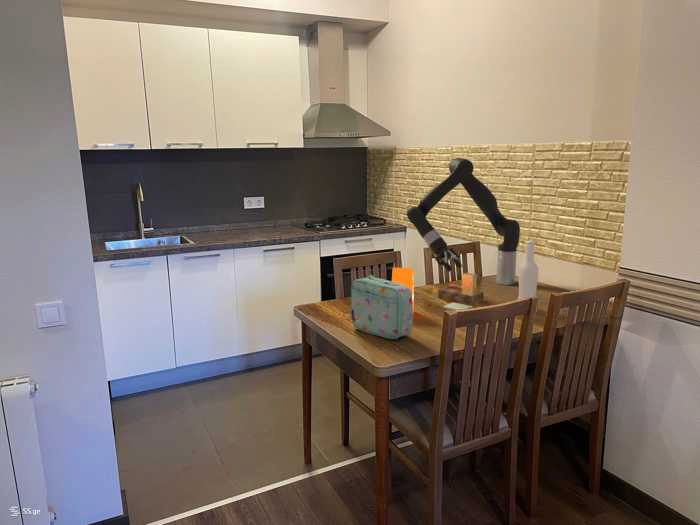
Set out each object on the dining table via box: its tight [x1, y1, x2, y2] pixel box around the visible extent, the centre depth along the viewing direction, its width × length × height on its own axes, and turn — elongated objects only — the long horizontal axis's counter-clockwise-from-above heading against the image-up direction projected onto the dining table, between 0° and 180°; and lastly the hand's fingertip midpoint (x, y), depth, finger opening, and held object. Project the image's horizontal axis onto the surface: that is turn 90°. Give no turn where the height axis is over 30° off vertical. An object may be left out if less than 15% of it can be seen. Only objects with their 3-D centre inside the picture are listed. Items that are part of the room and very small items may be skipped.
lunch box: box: [349, 275, 414, 340], centre depth 189 cm, size 27×10×21 cm, turn 45°
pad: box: [442, 301, 474, 311], centre depth 220 cm, size 10×8×1 cm
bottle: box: [517, 240, 539, 300], centre depth 212 cm, size 8×8×30 cm
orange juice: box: [391, 267, 415, 312], centre depth 212 cm, size 8×9×20 cm
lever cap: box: [461, 272, 478, 296], centre depth 224 cm, size 6×3×10 cm, turn 47°
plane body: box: [437, 282, 484, 306], centre depth 232 cm, size 18×10×6 cm, turn 47°
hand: (455, 269), depth 228 cm, fingers open, 8 cm apart
